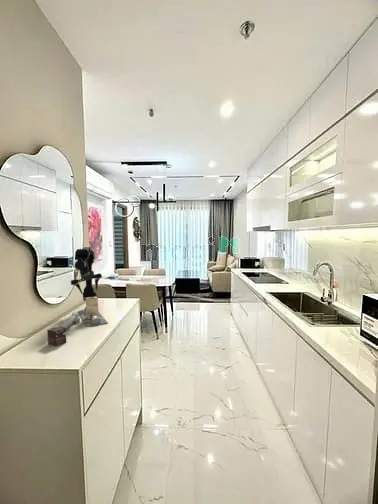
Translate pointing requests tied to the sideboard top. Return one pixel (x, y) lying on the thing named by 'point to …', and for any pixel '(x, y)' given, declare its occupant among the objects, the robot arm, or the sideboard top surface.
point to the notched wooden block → (91, 306)
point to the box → (56, 336)
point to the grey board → (93, 320)
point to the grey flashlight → (71, 320)
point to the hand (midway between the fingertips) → (89, 292)
